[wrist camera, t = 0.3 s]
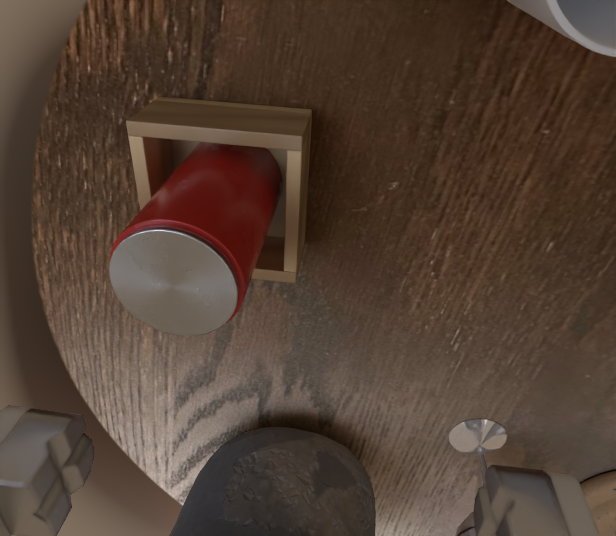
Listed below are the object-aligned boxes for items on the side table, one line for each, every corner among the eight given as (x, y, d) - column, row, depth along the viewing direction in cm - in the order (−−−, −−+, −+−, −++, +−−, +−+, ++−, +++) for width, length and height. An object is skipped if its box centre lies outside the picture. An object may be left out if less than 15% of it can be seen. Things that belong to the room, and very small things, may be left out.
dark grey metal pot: (194, 479, 52) (138, 647, 40) (200, 366, 42) (128, 544, 30) (356, 512, 52) (351, 690, 40) (401, 407, 42) (413, 601, 30)
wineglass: (529, 419, 41) (578, 570, 31) (503, 465, 45) (539, 613, 35) (449, 406, 41) (473, 553, 32) (430, 454, 45) (446, 598, 35)
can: (182, 128, 29) (90, 218, 20) (283, 136, 29) (240, 233, 19) (191, 218, 33) (117, 331, 23) (281, 227, 32) (243, 346, 23)
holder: (158, 96, 29) (125, 120, 25) (312, 109, 29) (302, 136, 25) (175, 230, 34) (149, 267, 30) (304, 243, 34) (295, 283, 30)
